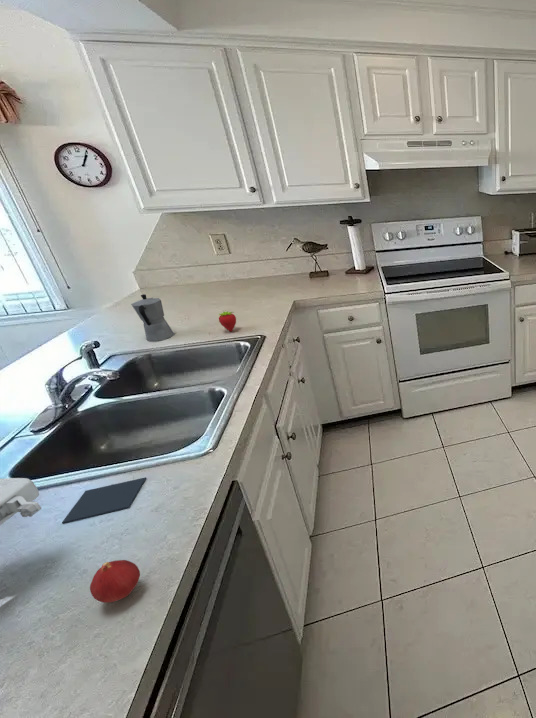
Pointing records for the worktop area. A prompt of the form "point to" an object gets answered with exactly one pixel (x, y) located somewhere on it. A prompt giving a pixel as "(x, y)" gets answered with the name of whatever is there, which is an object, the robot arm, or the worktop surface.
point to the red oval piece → (114, 581)
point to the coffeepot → (153, 318)
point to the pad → (105, 500)
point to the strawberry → (227, 320)
